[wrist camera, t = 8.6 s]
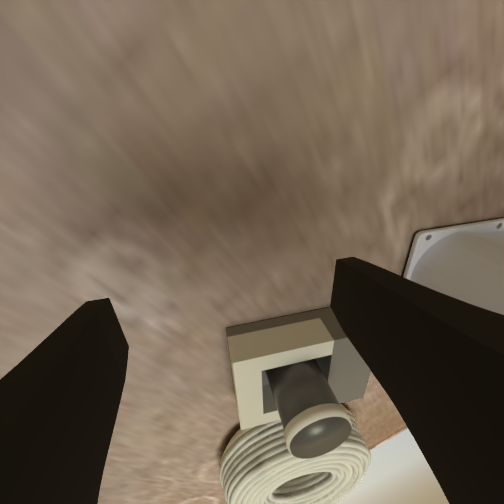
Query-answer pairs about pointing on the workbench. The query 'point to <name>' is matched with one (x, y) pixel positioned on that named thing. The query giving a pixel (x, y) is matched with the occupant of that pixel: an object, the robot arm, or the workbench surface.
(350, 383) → the hollow square frame
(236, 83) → the workbench surface
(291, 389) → the knob
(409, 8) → the workbench surface
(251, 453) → the cable
